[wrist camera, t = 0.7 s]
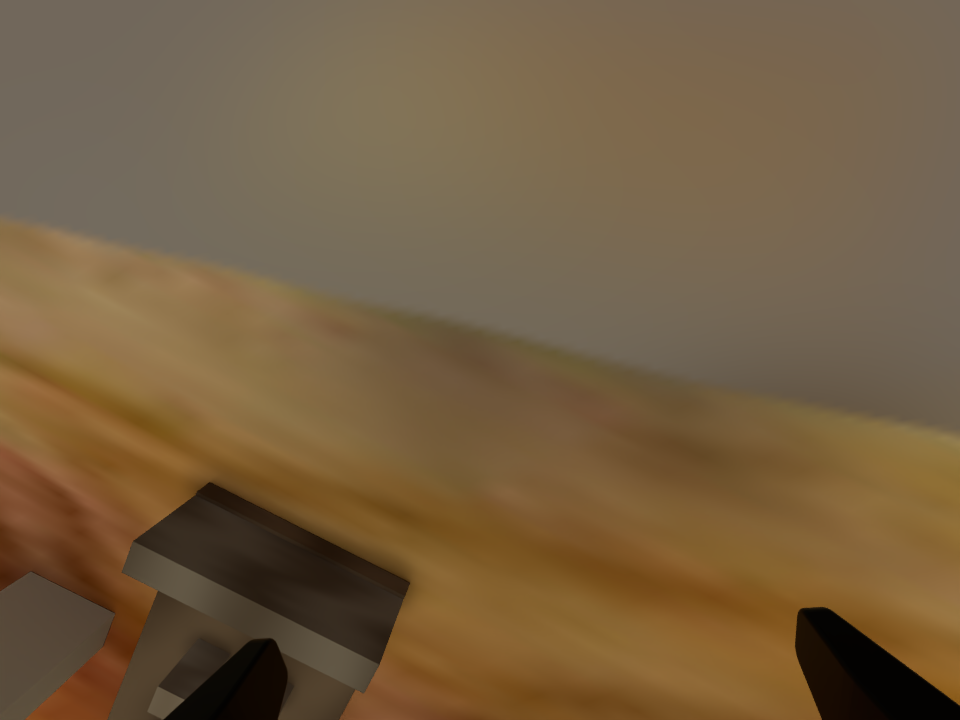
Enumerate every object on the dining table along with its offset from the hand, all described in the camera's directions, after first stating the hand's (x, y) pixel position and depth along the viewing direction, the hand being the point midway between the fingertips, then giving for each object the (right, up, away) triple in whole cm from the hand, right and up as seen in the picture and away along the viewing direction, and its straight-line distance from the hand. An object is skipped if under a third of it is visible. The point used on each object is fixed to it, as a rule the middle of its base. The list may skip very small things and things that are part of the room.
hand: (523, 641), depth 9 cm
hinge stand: (-14, -13, +19) cm, 27 cm away
